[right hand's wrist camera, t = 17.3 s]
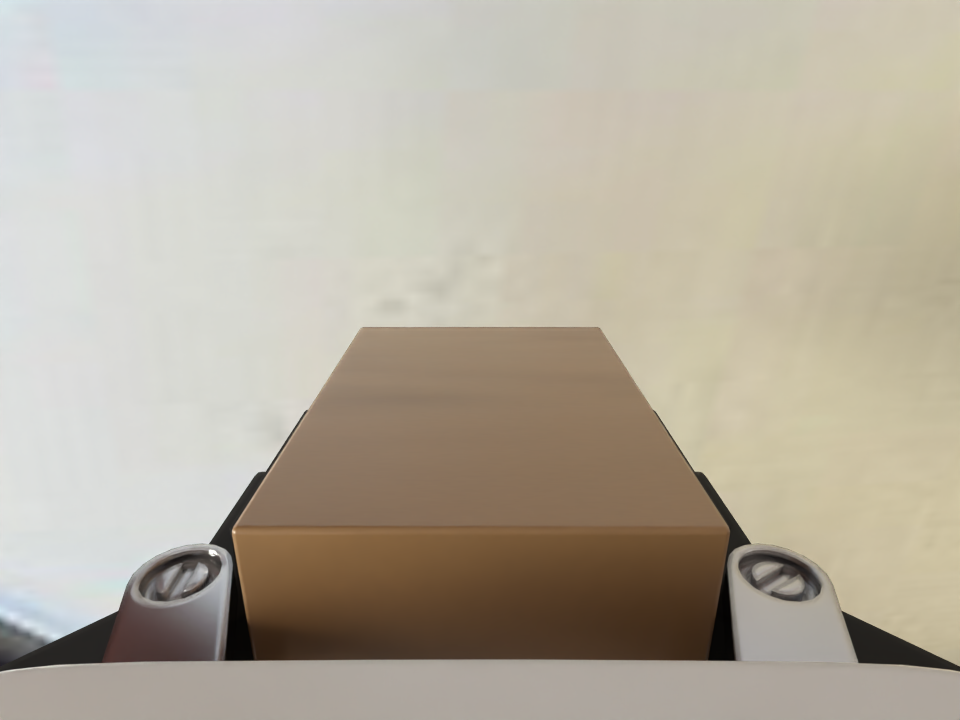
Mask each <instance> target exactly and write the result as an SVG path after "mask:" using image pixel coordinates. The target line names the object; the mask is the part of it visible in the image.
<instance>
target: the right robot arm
mask: <svg viewBox="0 0 960 720" xmlns="http://www.w3.org/2000/svg"><path fill="white" fill-rule="evenodd" d="M307 411H308V410H306V411H305V412H304V414H303V415H302V417H301V418H300V420H299V421H298V423H297V425H296V426H295V428H294V429H293V431H292V432H291V434H290V435H289V437H288V438H287V440H286V441H285V443H284V445H283V446H282V448H281V449H280V451H279V452H278V454H277V455H276V457H275V458H274V460H273V462H272V463H271V465H270V466H269V468H268V469H267V471H266V472H259V473H257V475H256V476H255V477H254V478H253V480H252V481H251V483H250V484H249V486H248V487H247V488H246V490H245V491H244V493H243V494H242V496H241V497H240V499H239V500H238V502H237V503H236V505H235V506H234V508H233V509H232V511H231V512H230V514H229V515H228V517H227V518H226V520H225V521H224V523H223V524H222V526H221V527H220V529H219V530H218V532H217V533H216V534H215V536H214V537H213V539H212V540H211V542H210V543H209V544H193V545H186V546H182V547H178V548H174V549H171V550H169V551H166V552H164V553H162V554H159V555H157V556H155V557H154V558H152V559H151V560H149V561H148V562H146V563H145V564H143V565H142V566H141V567H140V568H139V569H138V570H137V571H136V572H135V573H134V574H133V575H132V577H131V579H130V580H129V582H128V584H127V586H126V589H125V592H124V596H123V599H122V602H121V605H120V608H119V611H117V612H115V613H113V614H111V615H109V616H107V617H105V618H103V619H100V620H98V621H96V622H94V623H92V624H90V625H88V626H86V627H84V628H81V629H79V630H77V631H75V632H73V633H71V634H69V635H67V636H64V637H62V638H60V639H58V640H56V641H54V642H52V643H50V644H48V645H45V646H43V647H41V648H39V649H37V650H35V651H33V652H31V653H28V654H26V655H24V656H22V657H20V658H18V659H16V660H14V661H12V662H9V663H7V664H5V665H3V666H1V667H0V720H960V667H959V666H957V665H955V664H953V663H951V662H949V661H947V660H944V659H942V658H940V657H938V656H936V655H934V654H932V653H930V652H928V651H925V650H923V649H921V648H919V647H917V646H915V645H913V644H911V643H909V642H906V641H904V640H902V639H900V638H898V637H896V636H894V635H892V634H889V633H887V632H885V631H883V630H881V629H879V628H877V627H875V626H873V625H870V624H868V623H866V622H864V621H862V620H860V619H858V618H856V617H854V616H851V615H849V614H847V613H845V612H843V611H841V608H840V605H839V602H838V599H837V596H836V592H835V589H834V586H833V584H832V582H831V580H830V579H829V577H828V575H827V574H826V573H825V572H824V571H823V570H822V569H821V568H820V567H819V566H818V565H817V564H815V563H814V562H812V561H811V560H809V559H808V558H806V557H805V556H803V555H801V554H798V553H796V552H794V551H791V550H789V549H786V548H782V547H778V546H774V545H767V544H751V543H750V541H749V540H748V538H747V537H746V535H745V534H744V532H743V531H742V529H741V528H740V526H739V525H738V524H737V522H736V521H735V519H734V518H733V516H732V515H731V513H730V512H729V510H728V509H727V507H726V506H725V504H724V503H723V501H722V500H721V498H720V497H719V495H718V494H717V492H716V491H715V489H714V488H713V486H712V485H711V483H710V482H709V480H708V479H707V478H706V476H705V475H704V474H703V473H701V472H694V470H693V469H692V467H691V466H690V464H689V462H688V461H687V459H686V458H685V456H684V455H683V453H682V452H681V450H680V449H679V447H678V445H677V444H676V442H675V441H674V439H673V438H672V436H671V435H670V433H669V432H668V430H667V429H666V427H665V425H664V424H663V422H662V421H661V419H660V418H659V416H658V415H657V413H656V412H655V411H654V410H653V411H654V412H655V414H656V416H657V417H658V419H659V420H660V422H661V423H662V425H663V426H664V428H665V429H666V431H667V433H668V434H669V436H670V437H671V439H672V440H673V442H674V443H675V445H676V446H677V448H678V450H679V451H680V453H681V454H682V456H683V457H684V459H685V460H686V462H687V463H688V465H689V467H690V468H691V470H692V471H693V473H694V474H695V476H696V477H697V479H698V480H699V482H700V484H701V485H702V487H703V488H704V490H705V491H706V493H707V494H708V496H709V497H710V499H711V501H712V502H713V504H714V505H715V507H716V508H717V510H718V511H719V513H720V514H721V516H722V518H723V519H724V521H725V522H726V524H727V525H728V527H729V530H730V537H729V542H728V548H727V554H726V560H725V565H724V571H723V577H722V583H721V588H720V594H719V600H718V606H717V611H716V617H715V623H714V629H713V634H712V640H711V646H710V651H709V657H708V661H675V660H286V661H254V659H253V653H252V647H251V641H250V636H249V630H248V624H247V618H246V612H245V607H244V601H243V595H242V589H241V583H240V578H239V572H238V566H237V560H236V554H235V549H234V543H233V537H232V530H233V527H234V525H235V524H236V522H237V521H238V519H239V517H240V516H241V514H242V513H243V511H244V510H245V508H246V506H247V505H248V503H249V502H250V500H251V499H252V497H253V496H254V494H255V492H256V491H257V489H258V488H259V486H260V485H261V483H262V482H263V480H264V478H265V477H266V475H267V474H268V472H269V471H270V469H271V467H272V466H273V464H274V463H275V461H276V460H277V458H278V457H279V455H280V453H281V452H282V450H283V449H284V447H285V446H286V444H287V443H288V441H289V439H290V438H291V436H292V435H293V433H294V432H295V430H296V428H297V427H298V425H299V424H300V422H301V421H302V419H303V418H304V416H305V414H306V413H307Z"/></svg>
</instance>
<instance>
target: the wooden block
mask: <svg viewBox="0 0 960 720" xmlns="http://www.w3.org/2000/svg"><path fill="white" fill-rule="evenodd" d="M232 537H233V543H234V549H235V554H236V560H237V566H238V572H239V578H240V583H241V589H242V595H243V601H244V607H245V612H246V618H247V624H248V630H249V636H250V641H251V647H252V653H253V659H254V661H286V660H675V661H708V657H709V651H710V646H711V640H712V634H713V629H714V623H715V617H716V611H717V606H718V600H719V594H720V588H721V583H722V577H723V571H724V565H725V560H726V554H727V548H728V542H729V537H730V530H729V527H728V525H727V524H726V522H725V521H724V519H723V518H722V516H721V514H720V513H719V511H718V510H717V508H716V507H715V505H714V504H713V502H712V501H711V499H710V497H709V496H708V494H707V493H706V491H705V490H704V488H703V487H702V485H701V484H700V482H699V480H698V479H697V477H696V476H695V474H694V473H693V471H692V470H691V468H690V467H689V465H688V463H687V462H686V460H685V459H684V457H683V456H682V454H681V453H680V451H679V450H678V448H677V446H676V445H675V443H674V442H673V440H672V439H671V437H670V436H669V434H668V433H667V431H666V429H665V428H664V426H663V425H662V423H661V422H660V420H659V419H658V417H657V416H656V414H655V412H654V411H653V409H652V408H651V406H650V405H649V403H648V402H647V400H646V399H645V397H644V395H643V394H642V392H641V391H640V389H639V388H638V386H637V385H636V383H635V382H634V380H633V378H632V377H631V375H630V374H629V372H628V371H627V369H626V368H625V366H624V365H623V363H622V361H621V360H620V358H619V357H618V355H617V354H616V352H615V351H614V349H613V348H612V346H611V345H610V343H609V341H608V340H607V338H606V337H605V335H604V334H603V332H602V331H601V329H600V328H598V327H363V328H361V329H360V330H359V332H358V333H357V335H356V336H355V338H354V340H353V341H352V343H351V344H350V346H349V347H348V349H347V350H346V352H345V354H344V355H343V357H342V358H341V360H340V361H339V363H338V364H337V366H336V368H335V369H334V371H333V372H332V374H331V375H330V377H329V379H328V380H327V382H326V383H325V385H324V386H323V388H322V389H321V391H320V393H319V394H318V396H317V397H316V399H315V400H314V402H313V403H312V405H311V407H310V408H309V410H308V411H307V413H306V414H305V416H304V418H303V419H302V421H301V422H300V424H299V425H298V427H297V428H296V430H295V432H294V433H293V435H292V436H291V438H290V439H289V441H288V443H287V444H286V446H285V447H284V449H283V450H282V452H281V453H280V455H279V457H278V458H277V460H276V461H275V463H274V464H273V466H272V467H271V469H270V471H269V472H268V474H267V475H266V477H265V478H264V480H263V482H262V483H261V485H260V486H259V488H258V489H257V491H256V492H255V494H254V496H253V497H252V499H251V500H250V502H249V503H248V505H247V506H246V508H245V510H244V511H243V513H242V514H241V516H240V517H239V519H238V521H237V522H236V524H235V525H234V527H233V530H232Z"/></svg>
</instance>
